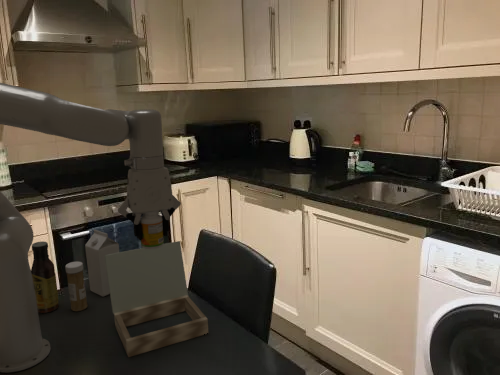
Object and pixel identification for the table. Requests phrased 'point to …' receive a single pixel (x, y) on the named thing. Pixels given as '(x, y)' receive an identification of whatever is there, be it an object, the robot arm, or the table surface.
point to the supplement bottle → (152, 230)
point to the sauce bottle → (44, 278)
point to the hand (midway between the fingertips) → (151, 235)
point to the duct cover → (145, 276)
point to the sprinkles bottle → (76, 286)
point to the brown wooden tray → (164, 335)
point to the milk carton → (99, 261)
